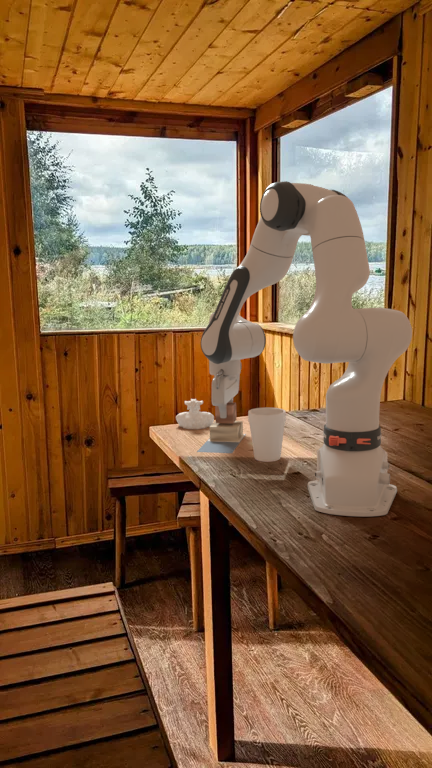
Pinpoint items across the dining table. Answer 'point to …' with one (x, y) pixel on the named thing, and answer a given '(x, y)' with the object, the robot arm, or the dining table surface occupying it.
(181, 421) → the white figurine
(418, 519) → the dining table surface
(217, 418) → the terracotta block
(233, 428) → the birch slab
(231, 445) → the board
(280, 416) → the foam cup
